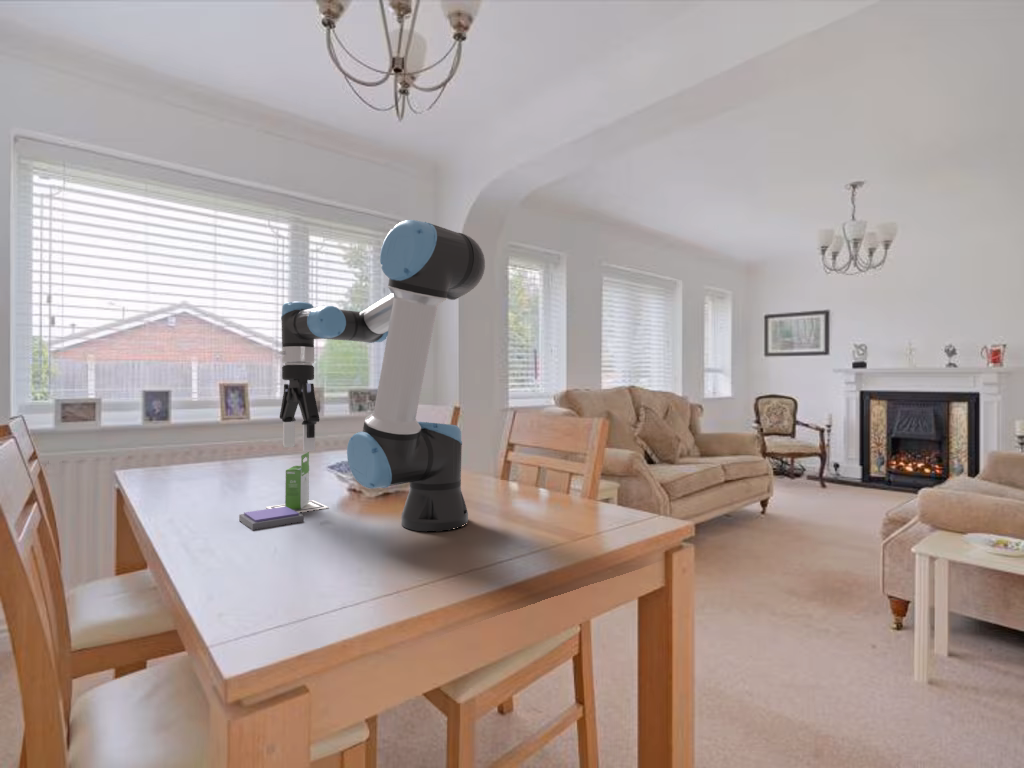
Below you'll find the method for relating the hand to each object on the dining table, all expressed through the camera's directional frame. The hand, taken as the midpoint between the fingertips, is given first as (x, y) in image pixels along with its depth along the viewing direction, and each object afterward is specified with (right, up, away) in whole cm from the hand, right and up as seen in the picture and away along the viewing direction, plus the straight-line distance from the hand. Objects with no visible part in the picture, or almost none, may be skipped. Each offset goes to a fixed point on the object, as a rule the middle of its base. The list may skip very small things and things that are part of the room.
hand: (298, 449), depth 136 cm
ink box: (-1, -15, +1) cm, 15 cm away
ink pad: (-2, -15, -12) cm, 19 cm away
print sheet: (-1, -15, +1) cm, 15 cm away
